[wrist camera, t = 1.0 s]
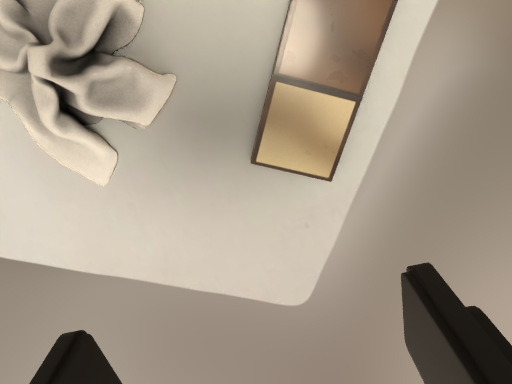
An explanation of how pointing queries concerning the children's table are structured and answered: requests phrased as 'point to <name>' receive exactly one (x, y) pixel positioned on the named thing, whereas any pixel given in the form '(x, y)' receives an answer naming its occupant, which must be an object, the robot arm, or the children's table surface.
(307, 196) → the children's table surface
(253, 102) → the children's table surface
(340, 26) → the board
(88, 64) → the cloth
